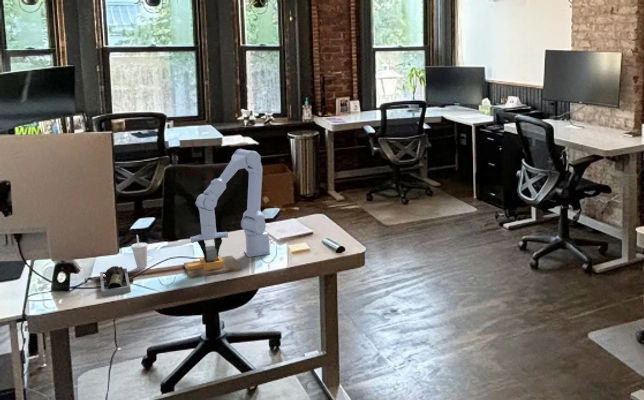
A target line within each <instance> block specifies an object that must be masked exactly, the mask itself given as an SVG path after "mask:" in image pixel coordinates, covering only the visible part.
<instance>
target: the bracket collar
mask: <svg viewBox="0 0 644 400" xmlns="http://www.w3.org/2000/svg"><path fill="white" fill-rule="evenodd" d="M221 257H222V256H220V254H218V257H217V261H215V262H209V263H206V262H205V258H204V256H201V257H199V261H200V262H199V263H192V264H187V268H188V270H194V269H200V268H203V269H204V270H210V269H216V268H222V267H224V262H223V260H222V258H221Z"/></svg>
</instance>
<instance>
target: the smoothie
mask: <svg viewBox="0 0 644 400" xmlns="http://www.w3.org/2000/svg"><path fill="white" fill-rule="evenodd" d="M139 240H140V239H139V235H138V234H136V243H133V244H131V246H130V249H131V250H132V253H133V258H134V261H135V265H136V268H139V269H138V270H144V269H143V268H145V267H148V246H149V245H148V243H147V242H140V241H139ZM145 269H146V268H145Z"/></svg>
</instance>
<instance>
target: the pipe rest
mask: <svg viewBox="0 0 644 400" xmlns="http://www.w3.org/2000/svg"><path fill="white" fill-rule="evenodd" d="M123 270H124V273H125V275H124V278H125V282H126V283H125V284H126V285H125V286H122V287H119V288H112V289H108V288H106V289H105V282H104V278H103V274H105V272H106V271H100V272H99V276H100V277H99V279H100V291H101V297H108V296H113V295H119V294H124V293H125V294H126V293H131V292H132V289H131V283H130V279H129V278H130V277H129V274H128V269H127V267H126V268H123Z"/></svg>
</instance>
